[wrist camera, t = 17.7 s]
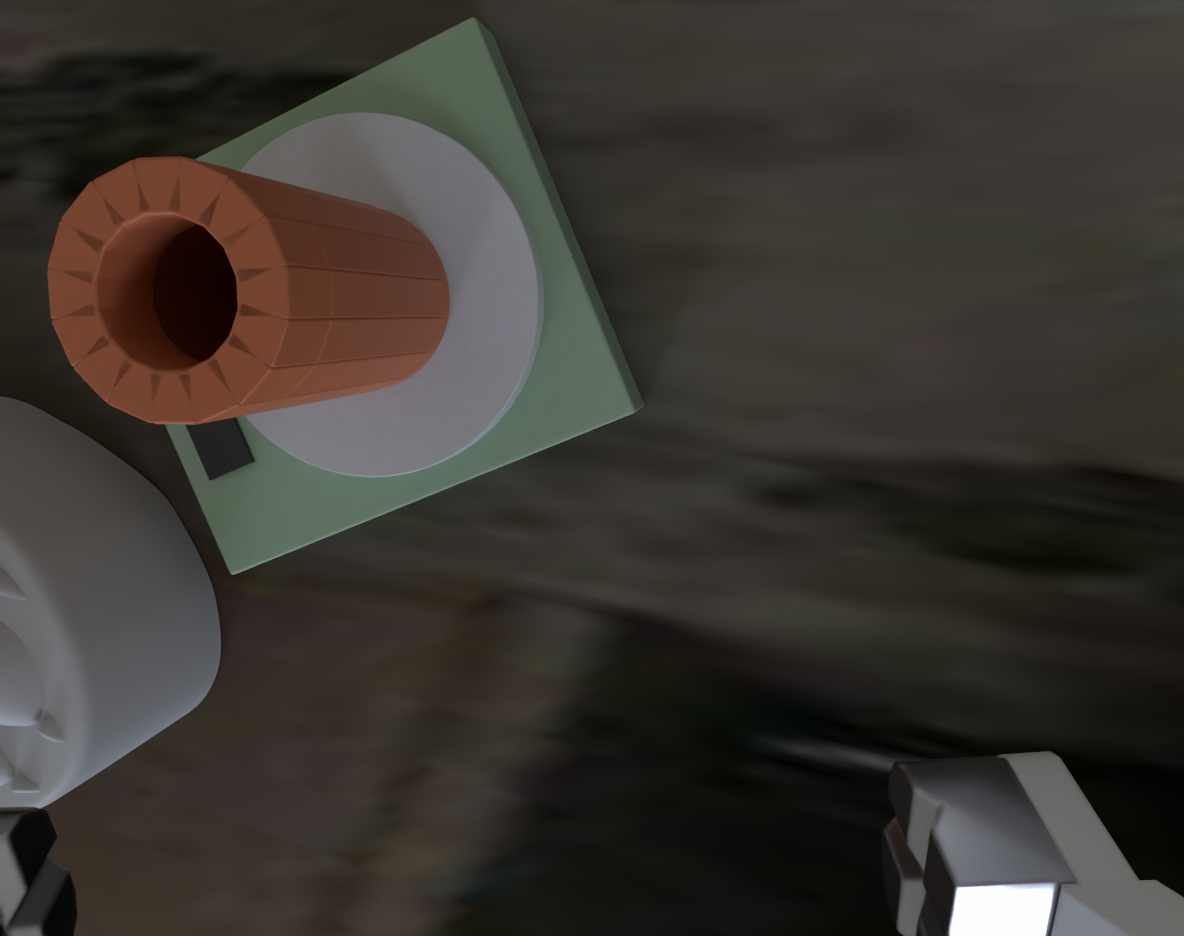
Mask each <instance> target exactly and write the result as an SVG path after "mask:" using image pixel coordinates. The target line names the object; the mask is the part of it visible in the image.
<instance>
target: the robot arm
mask: <svg viewBox="0 0 1184 936" xmlns="http://www.w3.org/2000/svg"><path fill="white" fill-rule="evenodd" d="M888 796H889V799H890V801H891V804H892V806H893V809H894V812H895V814H896V817H895V818H894V819H893V820H892V821H891V822H890V823H889V824H888V825H887V826H886V827H885V828H884V833H883V847H882V863H883V875H884V885H885V890H886V894H887V898H888V903H889V907H890V910H891V913H892V916H893V919H894V922H895V925H896V928H897V930H898V931H899V932H900V933H902V934H903V935H904V936H1184V898H1183V897H1182V896H1180V895H1179V894H1177V893H1176V892H1174V891H1172V890H1171V889H1169V888H1168V887H1166V886H1164V885H1163V884H1161V883H1160V882H1158V881H1156V880H1142V881H1139V879H1138V878H1137V876H1136V875H1135V873H1134V872H1133V870H1132V868H1131V867H1130V865H1129V864H1128V862H1127V861H1126V859H1125V858H1124V856H1123V854H1122V853H1121V851H1120V850H1119V848H1118V847H1117V845H1116V844H1115V842H1114V841H1113V839H1112V837H1111V836H1110V834H1109V833H1108V831H1107V830H1106V828H1105V827H1104V825H1103V823H1102V822H1101V820H1100V819H1099V817H1098V816H1097V814H1096V813H1095V811H1094V809H1093V808H1092V806H1091V805H1090V803H1089V802H1088V800H1087V799H1086V797H1085V796H1084V794H1083V792H1082V791H1081V789H1080V788H1079V786H1078V785H1077V783H1076V782H1075V780H1074V778H1073V777H1072V775H1071V774H1070V772H1069V771H1068V769H1067V768H1066V766H1065V765H1064V763H1063V761H1062V760H1061V758H1060V757H1058V756H1057V755H1055V754H1054V753H1052V752H1051V751H1048V752H1033V753H1019V754H1004V755H998V756H997V757H995V756H984V757H967V758H951V759H934V760H917V761H900V762H895V763H894V765H893V768H892V770H891V772H890V778H889V786H888ZM56 838H57V835H56V833H55V830H54V828H53V825H52V823H51V820H50V818H49V815H48V813H47V811H46V810H42V809H39V808H36V807H0V936H73V934H74V929H75V924H76V919H77V906H76V892H75V888H74V885H73V882H72V879H71V876H70V873H69V871H68V870H66V869H65V868H64V867H62V866H61V865H60V864H58V863H57V862H56V861H54V860H53V859H52V858H50V857H49V856H48V855H47V854H48V853H49V851H50V849H51V847H52V845H53V844H54V842H55V840H56Z"/></svg>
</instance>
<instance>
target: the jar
mask: <svg viewBox="0 0 1184 936" xmlns="http://www.w3.org/2000/svg"><path fill="white" fill-rule="evenodd" d="M48 268H49V269H48V270H47V276H48V289H49V302H50V315H51V318H52V319H53V320H52V323H53V326H54V328H55V330H56V332H57V335H58V337H59V339H60V341H61V344H62V346H63V348H64V351H65V353H66V355H67V357H68V360H69V362H70V364H71V365H72V366H74V369H75V371H76V372H77V373H78V374H79V375H80V376H81V377H82V378H83V379H84V380H85V381H86V382H87V383H88V384H89V385H90V386H91V387H92V388H93V389H94V390H95V391H96V392H97V393H98V395H99V396H100V397H101V398H102V399H103V400H104V401H106V402H108V404H109V405H111V406H113V407H115V408H118V409H120V410H122V411H124V412H126V413H129V414H131V415H133V416H135V417H137V418H139V419H142V420H144V421H146V422H148V423H155V424H184V425H196V424H202V423H207V422H213V421H218V420H223V419H229V418H234V417H239V416H244V415H250V414H256V413H261V412H266V411H272V410H277V409H282V408H288V407H293V406H298V405H303V404H309V403H314V402H319V401H325V400H330V399H335V398H341V397H346V396H351V395H357V394H362V393H367V392H372V391H377V390H379V389H382V388H385V387H389V386H392V385H395V384H398V383H400V382H402V381H404V380H406V379H407V378H409V377H410V376H412V375H413V374H415V373H416V372H417V371H419V370H420V369H421V368H422V367H423V366H424V365H425V364H426V363H427V362H428V360H429V359H430V358H431V357H432V355H433V354H434V352H435V351H436V349H437V347H438V346H439V344H440V342H441V339H442V337H443V335H444V332H445V328H446V325H447V321H448V315H449V302H450V297H449V286H448V281H447V277H446V273H445V270H444V267H443V264H442V262H441V260H440V258H439V256H438V254H437V252H436V250H435V249H434V247H433V246H432V244H431V243H430V241H429V240H428V239H427V238H426V237H425V236H424V234H423V233H422V232H421V231H420V230H418V229H417V228H416V227H415V226H414V225H413V224H411V223H410V222H408V221H407V220H405V219H404V218H402V217H400V216H398V215H396V214H394V213H392V212H389V211H386V210H383V209H379V208H377V207H374V206H372V205H369V204H365V203H361V202H357V201H353V200H349V199H345V198H341V197H338V196H334V195H330V194H326V193H322V192H318V191H314V190H310V189H306V188H303V187H299V186H295V185H291V184H287V183H283V182H279V181H275V180H271V179H268V178H264V177H260V176H256V175H252V174H248V173H244V172H240V171H237V170H233V169H230V168H226V167H222V166H218V165H214V164H210V163H206V162H202V161H199V160H195V159H191V158H187V157H180V156H177V157H147V158H137V159H135V160H131V161H129V162H127V163H125V164H123V165H121V166H119V167H117V168H115V169H113V170H112V171H110V172H108V173H106V174H104V175H102V176H100V177H98V178H96V179H95V180H94V182H93V181H91V182H89V183H88V185H87V186H86V187H85V189H84V190H83V191H82V192H81V194H80V195H79V196H78V197H77V199H76V200H75V201H74V203H73V204H72V205H71V206H70V208H69V209H68V210H67V212H66V213H65V214H64V215H63V217H62V220H61V221H60V223H59V227H58V230H57V234H56V237H55V241H54V244H53V248H52V251H51V255H50V258H49V262H48Z"/></svg>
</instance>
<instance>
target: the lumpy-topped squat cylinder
mask: <svg viewBox="0 0 1184 936" xmlns="http://www.w3.org/2000/svg"><path fill="white" fill-rule="evenodd" d="M220 656H221V631H220V622H219V614H218V608H217V603H216V598H215V594H214V590H213V586H212V583H211V580H210V578H209V575H208V573H207V571H206V568H205V566H204V564H203V562H202V560H201V558H200V555H199V553H198V551H197V549H196V547H195V545H194V544H193V542H192V540H191V538H190V536H189V534H188V532H187V530H186V529H185V527H184V525H183V523H182V522H181V520H180V518H179V517H178V515H177V513H176V512H175V510H174V508H173V507H172V505H171V504H170V502H169V501H168V500H167V498H166V497H165V496H164V495H163V494H162V493H161V492H160V491H159V490H158V489H157V488H156V487H155V486H154V485H153V484H152V483H150V482H149V481H148V480H147V479H146V478H144V477H143V476H142V475H141V474H140V473H138V472H137V471H136V470H134V469H133V468H132V467H131V466H129V465H128V464H127V463H125V462H124V461H123V460H121V459H120V458H119V457H117V456H116V455H115V454H113V453H112V452H110V451H109V450H108V449H106V448H105V447H103V446H102V445H100V444H99V443H97V442H96V441H94V440H93V439H91V438H90V437H88V436H87V435H85V434H84V433H82V432H80V431H79V430H77V429H75V428H73V427H71V426H69V425H67V424H65V423H64V422H62V421H60V420H58V419H56V418H55V417H53V416H51V415H50V414H48V413H46V412H44V411H43V410H41V409H39V408H37V407H35V406H32V405H30V404H28V403H25V402H23V401H20V400H16V399H13V398H8V397H2V396H0V807H36V808H39V809H40V808H42V807H44V806H46V805H48V804H50V803H52V802H53V801H55V800H56V799H58V798H60V797H61V796H63V795H64V794H66V793H67V792H69V791H71V790H72V789H74V788H75V787H77V786H79V785H80V784H82V783H83V782H85V781H86V780H88V779H89V778H91V777H92V776H94V775H96V774H97V773H99V772H100V771H102V770H103V769H105V768H106V767H108V766H109V765H111V764H112V763H114V762H115V761H117V760H118V759H120V758H121V757H123V756H124V755H126V754H127V753H129V752H130V751H132V750H133V749H135V748H136V747H138V746H139V745H141V744H142V743H144V742H145V741H147V740H148V739H150V738H151V737H153V736H154V735H156V734H157V733H159V732H160V731H162V730H163V729H165V728H166V727H168V726H169V725H171V724H172V723H174V722H175V721H177V720H178V719H180V718H181V717H183V716H184V715H186V714H187V713H189V712H190V711H192V710H193V709H194V708H195V707H196V706H197V705H198V704H199V703H200V702H201V701H202V700H203V699H204V697H205V696H206V695H207V693H208V692H209V690H210V688H211V686H212V684H213V682H214V680H215V677H216V675H217V671H218V668H219V663H220Z"/></svg>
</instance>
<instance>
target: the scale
mask: <svg viewBox="0 0 1184 936" xmlns="http://www.w3.org/2000/svg"><path fill="white" fill-rule="evenodd" d="M195 160H199V161H202V162H206V163H210V164H214V165H218V166H222V167H226V168H230V169H233V170H237V171H240V172H244V173H248V174H252V175H256V176H260V177H264V178H268V179H271V180H275V181H279V182H283V183H287V184H291V185H295V186H299V187H303V188H306V189H310V190H314V191H318V192H322V193H326V194H330V195H334V196H338V197H341V198H345V199H349V200H353V201H357V202H361V203H365V204H369V205H372V206H374V207H377V208H379V209H383V210H386V211H389V212H392V213H394V214H396V215H398V216H400V217H402V218H404V219H405V220H407V221H408V222H410V223H411V224H413V225H414V226H415V227H416V228H417V229H418V230H420V231H421V232H422V233H423V234H424V236H425V237H426V238H427V239H428V240H429V241H430V243H431V244H432V246H433V247H434V249H435V250H436V252H437V254H438V256H439V258H440V260H441V262H442V264H443V267H444V270H445V273H446V277H447V281H448V286H449V297H450V302H449V315H448V321H447V325H446V328H445V332H444V335H443V337H442V339H441V342H440V344H439V346H438V347H437V349H436V351H435V352H434V354H433V355H432V357H431V358H430V359H429V360H428V362H427V363H426V364H425V365H424V366H423V367H422V368H421V369H420V370H419V371H417V372H416V373H415V374H413V375H412V376H410V377H409V378H407V379H406V380H404V381H402V382H400V383H398V384H395V385H392V386H389V387H385V388H382V389H379V390H377V391H372V392H367V393H362V394H357V395H351V396H346V397H341V398H335V399H330V400H325V401H319V402H314V403H309V404H303V405H298V406H293V407H288V408H282V409H277V410H272V411H266V412H261V413H256V414H250V415H244V416H239V417H234V418H229V419H223V420H218V421H213V422H207V423H202V424H196V425H184V424H165V426H166V428H167V431H168V433H169V435H170V438H171V440H172V442H173V444H174V447H175V449H176V451H177V453H178V456H179V458H180V460H181V463H182V465H183V467H184V469H185V472H186V474H187V476H188V478H189V481H190V483H191V485H192V488H193V490H194V492H195V494H196V497H197V499H198V501H199V504H200V506H201V508H202V510H203V513H204V515H205V517H206V519H207V522H208V524H209V526H210V529H211V531H212V533H213V535H214V538H215V540H216V542H217V545H218V547H219V549H220V551H221V554H222V556H223V558H224V560H225V563H226V565H227V567H228V570H229V572H230V574H231V575H235V574H237V573H240V572H242V571H245V570H247V569H250V568H252V567H255V566H257V565H259V564H262V563H264V562H267V561H269V560H272V559H274V558H277V557H279V556H282V555H284V554H287V553H289V552H292V551H294V550H297V549H299V548H301V547H304V546H306V545H309V544H311V543H314V542H316V541H319V540H321V539H324V538H326V537H329V536H331V535H334V534H336V533H339V532H341V531H344V530H346V529H348V528H351V527H353V526H356V525H358V524H361V523H363V522H366V521H368V520H371V519H373V518H376V517H378V516H381V515H383V514H386V513H388V512H391V511H393V510H395V509H398V508H400V507H403V506H405V505H408V504H410V503H413V502H415V501H418V500H420V499H423V498H425V497H428V496H430V495H433V494H435V493H438V492H440V491H442V490H445V489H447V488H450V487H452V486H455V485H457V484H460V483H462V482H465V481H467V480H470V479H472V478H475V477H477V476H480V475H482V474H485V473H487V472H489V471H492V470H494V469H497V468H499V467H502V466H504V465H507V464H509V463H512V462H514V461H517V460H519V459H522V458H524V457H527V456H529V455H531V454H534V453H536V452H539V451H541V450H544V449H546V448H549V447H551V446H554V445H556V444H559V443H561V442H564V441H566V440H569V439H571V438H574V437H576V436H578V435H581V434H583V433H586V432H588V431H591V430H593V429H596V428H598V427H601V426H603V425H606V424H608V423H611V422H613V421H616V420H618V419H621V418H623V417H625V416H628V415H630V414H633V413H635V412H636V411H638V410H639V409H641V408H642V407H643V406H644V403H643V401H642V398H641V396H640V393H639V391H638V389H637V386H636V384H635V381H634V379H633V376H632V374H631V371H630V369H629V366H628V364H627V362H626V359H625V357H624V354H623V352H622V349H621V347H620V344H619V342H618V339H617V337H616V335H615V332H614V330H613V327H612V325H611V322H610V320H609V317H608V315H607V312H606V310H605V308H604V305H603V303H602V300H601V298H600V295H599V293H598V290H597V288H596V285H595V283H594V281H593V278H592V276H591V273H590V271H589V268H588V266H587V263H586V261H585V258H584V256H583V254H582V251H581V249H580V246H579V244H578V241H577V239H576V236H575V234H574V231H573V229H572V227H571V224H570V222H569V219H568V217H567V214H566V212H565V209H564V207H563V204H562V202H561V200H560V197H559V195H558V192H557V190H556V187H555V185H554V182H553V180H552V177H551V175H550V173H549V170H548V168H547V165H546V163H545V160H544V158H543V155H542V153H541V150H540V148H539V146H538V143H537V141H536V138H535V136H534V133H533V131H532V128H531V126H530V123H529V121H528V119H527V116H526V114H525V111H524V109H523V106H522V104H521V101H520V99H519V96H518V94H517V92H516V89H515V87H514V84H513V82H512V79H511V77H510V74H509V72H508V69H507V67H506V65H505V62H504V60H503V57H502V55H501V52H500V50H499V47H498V45H497V42H496V40H495V38H494V35H493V34H492V33H491V32H490V31H489V30H488V29H486V28H485V27H484V26H483V25H482V24H481V23H480V22H479V21H478V20H477V19H476V18H475V17H471V18H469V19H467V20H465V21H463V22H461V23H460V24H458V25H456V26H454V27H452V28H450V29H448V30H446V31H444V32H442V33H440V34H438V35H436V36H434V37H432V38H430V39H428V40H426V41H424V42H423V43H421V44H419V45H417V46H415V47H413V48H411V49H409V50H407V51H405V52H403V53H401V54H399V55H397V56H395V57H393V58H391V59H389V60H387V61H386V62H384V63H382V64H380V65H378V66H376V67H374V68H372V69H370V70H368V71H366V72H364V73H362V74H360V75H358V76H356V77H354V78H352V79H350V80H349V81H347V82H345V83H343V84H341V85H339V86H337V87H335V88H333V89H331V90H329V91H327V92H325V93H323V94H321V95H319V96H317V97H315V98H313V99H312V100H310V101H308V102H306V103H304V104H302V105H300V106H298V107H296V108H294V109H292V110H290V111H288V112H286V113H284V114H282V115H280V116H278V117H276V118H275V119H273V120H271V121H269V122H267V123H265V124H263V125H261V126H259V127H257V128H255V129H253V130H251V131H249V132H247V133H245V134H243V135H241V136H240V137H238V138H236V139H234V140H232V141H230V142H228V143H226V144H224V145H222V146H220V147H218V148H216V149H214V150H212V151H210V152H208V153H206V154H204V155H203V156H201V157H199V158H197V159H195Z"/></svg>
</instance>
